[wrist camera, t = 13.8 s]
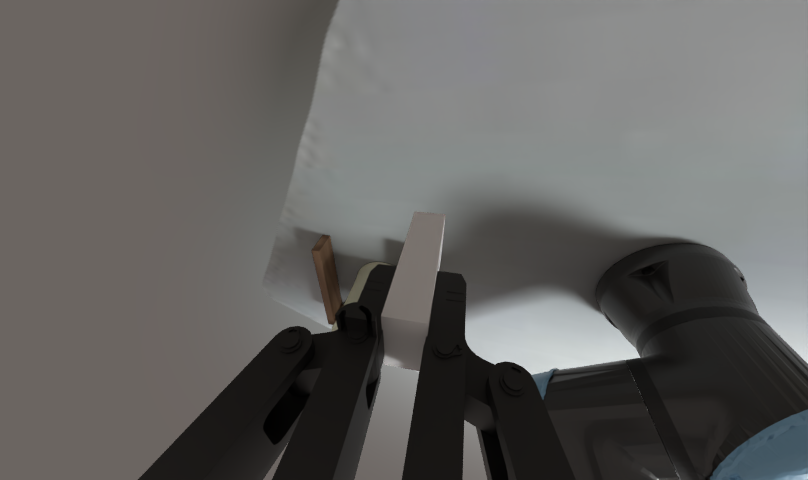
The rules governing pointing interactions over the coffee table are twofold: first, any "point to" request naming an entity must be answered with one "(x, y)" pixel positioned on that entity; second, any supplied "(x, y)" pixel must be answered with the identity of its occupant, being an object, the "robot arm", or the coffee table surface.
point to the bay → (327, 277)
